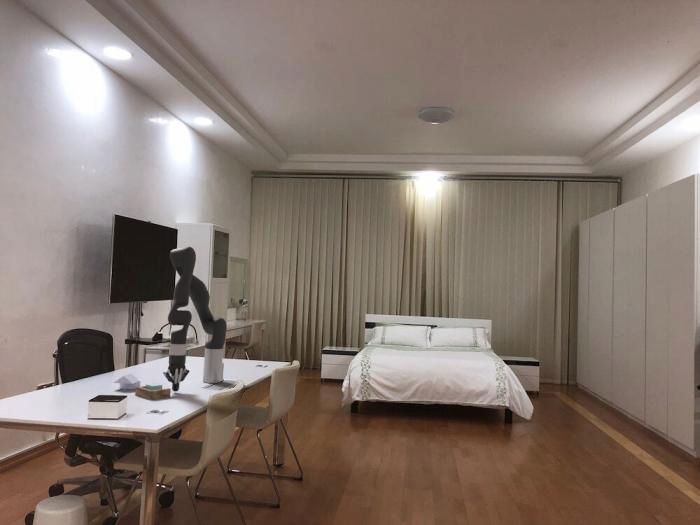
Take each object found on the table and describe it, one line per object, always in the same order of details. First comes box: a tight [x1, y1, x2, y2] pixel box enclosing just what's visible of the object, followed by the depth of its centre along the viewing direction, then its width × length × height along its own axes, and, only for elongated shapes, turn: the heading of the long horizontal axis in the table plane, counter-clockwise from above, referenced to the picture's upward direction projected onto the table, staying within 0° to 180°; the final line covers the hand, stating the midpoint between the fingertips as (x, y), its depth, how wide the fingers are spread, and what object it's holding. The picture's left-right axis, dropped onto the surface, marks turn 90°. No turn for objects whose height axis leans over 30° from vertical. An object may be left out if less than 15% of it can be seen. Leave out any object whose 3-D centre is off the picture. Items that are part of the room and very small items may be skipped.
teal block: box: [145, 383, 163, 390], centre depth 248 cm, size 5×5×5 cm
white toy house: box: [113, 372, 141, 390], centre depth 262 cm, size 9×7×13 cm
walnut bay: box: [134, 385, 172, 401], centre depth 248 cm, size 10×12×4 cm
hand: (175, 391), depth 257 cm, fingers closed
